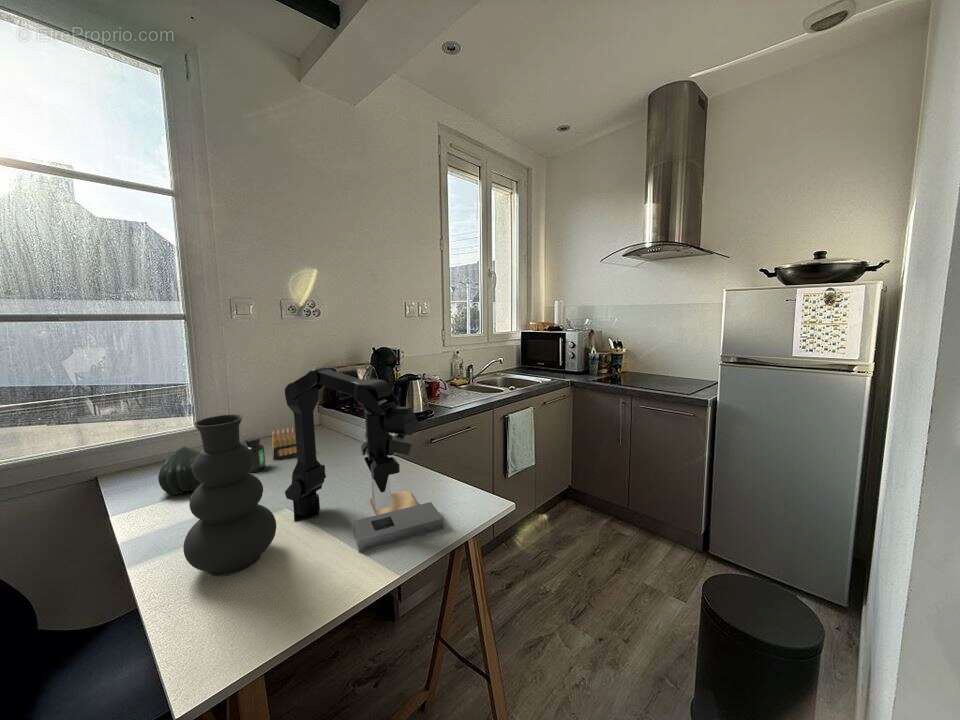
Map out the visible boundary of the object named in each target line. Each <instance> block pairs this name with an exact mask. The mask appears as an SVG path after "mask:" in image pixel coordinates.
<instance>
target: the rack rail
mask: <svg viewBox="0 0 960 720" xmlns="http://www.w3.org/2000/svg"><path fill="white" fill-rule="evenodd" d="M440 530H444V518H443V516H442V515H441V513H440V512H439V511H438V509H437V508H436V507H435V505H434V504H433V503H432V502H431V501H430V502H425V503H421V504H418V505H416V506H412V507H408V508H404V509H400V510H396V511H392V512H388V513H384V514H380V515H373V516H368V517H365V518H361V519H355V520H352V531H353V532H352V533H353V535H354V540H355V543H356V546H357V550H358V553H362V552H366V551H370V550H373V549H377V548H380V547H384V546H388V545H391V544H395V543H398V542H401V541H404V540H408V539H412V538H415V537H419V536H422V535H425V534H430V533H433V532H436V531H440Z"/></svg>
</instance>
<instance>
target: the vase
mask: <svg viewBox="0 0 960 720" xmlns="http://www.w3.org/2000/svg"><path fill="white" fill-rule="evenodd" d="M243 418H244V416H243V415H241V414H234V413H233V414H231V413H230V414H220V415H214V416H208V417H205V418H202V419H198V420H196V421H195V422H193V425H194V427H195V428H196V429H197V430H198V431H199V433H200V436H201V442H202V443H201V444H202V447H203V448H202V449H201V450H200V451H199V452H200V453H199V454H198V455H197V457H196V458H195V460H194V462H193V465H192V472H193V475H194V477H195V478H196V479H197V480H198V481H199V482H201V484H200V485H199V486H198V487H197V489H196V490H195V491H192V494H191V496H190V499H189V504H188V505H189V510H190V512H191V514H192V515H193V516H194V517H195V518H197V519H198V520H197V521H196V522H195V523H194V524H193V525H192V526H191V527H190V529H189V530H188V532H187V534H186V536H185V538H184V542H183V546H182V547H183V554H184V557H185V560H186V561H187V563H188V564H189V565H190V566H192V567H193V568H194V569H197V570H198V571H201V572H207V573H208V574H209V575H211V576H217V577H223V576H229V575H233V574H236V573H239V572H242V571H244V570H246V569H249V567H251V566H253V565H255V563H256V562H257V561H259V559H260V558H261V556H262V555H263V553H265V551H267V550H268V548H269V547H270V545H271V544H272V542H273V540H274V538H275V537H276V532H277V521H276V517H275V515H274V514H273V512H272V511H271V510H270V509H269V508H268V507H266V506H264V505H262V504H259V502H260V501H261V499H262V498H263V495H264V494H263V493H264V486H263V483H262V481H261V480H260V479H259V477H257V476H256V475H254V474H252V473H248V472H249V471H250V470H251V468H252V466H253V463H254V456H253V453H252V451H251V450H250V449H249V448H248V447H247V446H246V445H245V443H243V442H241V441H240V424H241V422H242V420H243Z"/></svg>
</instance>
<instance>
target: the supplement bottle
mask: <svg viewBox="0 0 960 720" xmlns="http://www.w3.org/2000/svg"><path fill="white" fill-rule="evenodd" d="M244 445H245V446H247V447H248V448H249V449H250V450H251V451H252V453H253V456H254V463H253V466H252V468H251V470H250V471H249V472H248V473H250V474H252V473H257V472H261V471H263V470H265V468H266V466H267V465H266V455H265V446H264V445H263V443H261V437H260V436H252V437H247V438H245V440H244Z"/></svg>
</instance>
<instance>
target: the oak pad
mask: <svg viewBox="0 0 960 720" xmlns="http://www.w3.org/2000/svg"><path fill="white" fill-rule="evenodd" d="M369 502H370V503H369V504H370V505H371V507H372V510H373V513H374V516H376V515H380V514H384V513H388V512H392V511H396V510H400V509H404V508H408V507H412V506H416V505H419V504H418V502H417V501H416V499H415V498H414V496H413V495H412V494H411V491H409V489H407V490H402V491H398V492H393V493H391V507H387V508H383V509H378V510H375V507H374V505H373V500H372V497H371V498H369Z"/></svg>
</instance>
